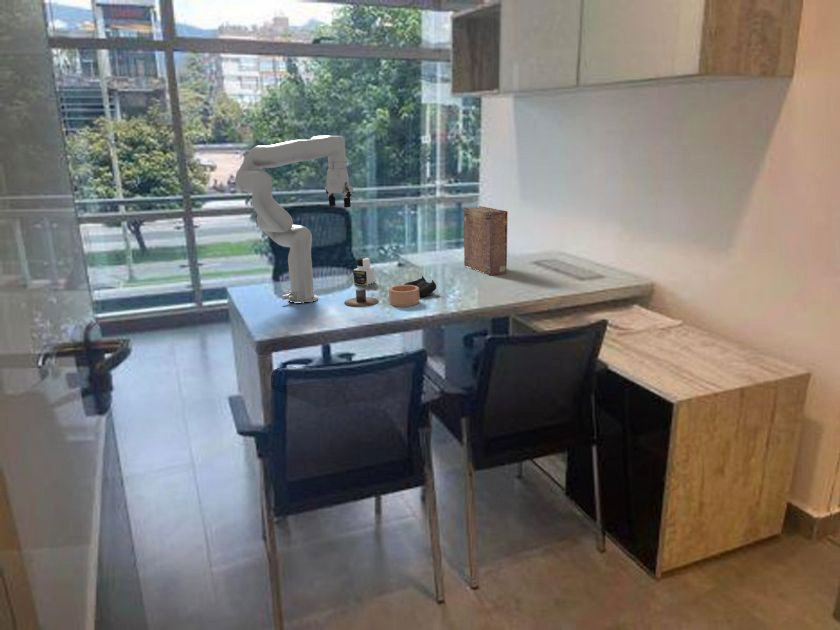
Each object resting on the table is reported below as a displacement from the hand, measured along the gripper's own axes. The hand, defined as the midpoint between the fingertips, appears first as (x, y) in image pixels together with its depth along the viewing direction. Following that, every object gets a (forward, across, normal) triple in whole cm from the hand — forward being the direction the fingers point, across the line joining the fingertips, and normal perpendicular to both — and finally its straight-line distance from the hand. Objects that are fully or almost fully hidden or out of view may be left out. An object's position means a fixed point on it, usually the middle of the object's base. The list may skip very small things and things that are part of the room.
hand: (339, 206), depth 271 cm
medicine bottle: (+37, 0, +12) cm, 39 cm away
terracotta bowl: (+37, +38, -2) cm, 53 cm away
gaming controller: (+37, +33, +14) cm, 52 cm away
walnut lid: (+37, +23, -12) cm, 45 cm away
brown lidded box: (+37, +29, +67) cm, 82 cm away
